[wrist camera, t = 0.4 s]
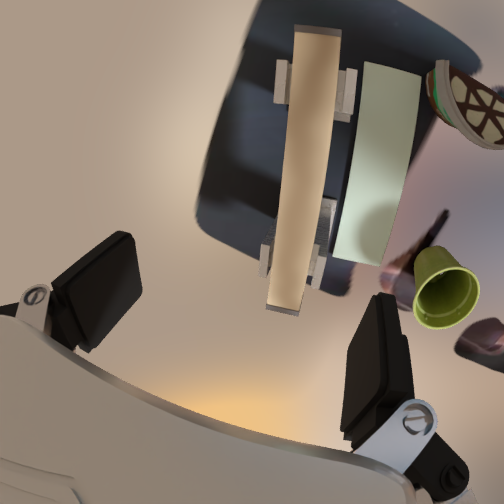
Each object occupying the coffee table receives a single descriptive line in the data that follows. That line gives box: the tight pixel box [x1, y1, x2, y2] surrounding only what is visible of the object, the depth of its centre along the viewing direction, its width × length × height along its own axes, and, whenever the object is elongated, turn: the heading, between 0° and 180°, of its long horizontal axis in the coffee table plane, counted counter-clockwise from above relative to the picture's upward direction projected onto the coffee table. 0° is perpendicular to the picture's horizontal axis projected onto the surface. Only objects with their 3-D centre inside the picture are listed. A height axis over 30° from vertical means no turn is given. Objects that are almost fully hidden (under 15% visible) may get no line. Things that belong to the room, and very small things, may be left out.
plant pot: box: [413, 246, 480, 329], centre depth 30 cm, size 9×9×9 cm
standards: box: [258, 60, 357, 289], centre depth 27 cm, size 7×22×13 cm, turn 176°
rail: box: [266, 25, 342, 316], centre depth 22 cm, size 3×25×3 cm, turn 176°
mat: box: [333, 61, 421, 267], centre depth 30 cm, size 7×26×1 cm, turn 177°
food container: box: [425, 60, 504, 150], centre depth 19 cm, size 12×6×10 cm, turn 79°
